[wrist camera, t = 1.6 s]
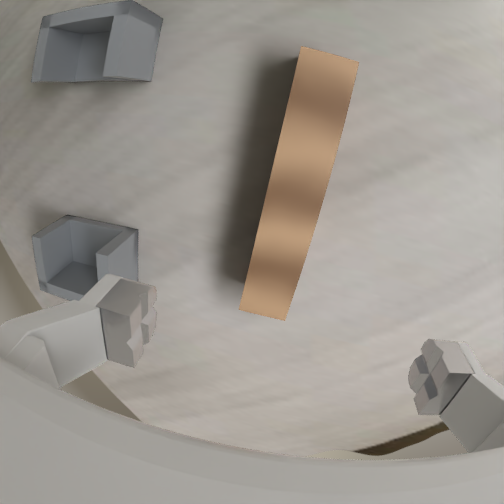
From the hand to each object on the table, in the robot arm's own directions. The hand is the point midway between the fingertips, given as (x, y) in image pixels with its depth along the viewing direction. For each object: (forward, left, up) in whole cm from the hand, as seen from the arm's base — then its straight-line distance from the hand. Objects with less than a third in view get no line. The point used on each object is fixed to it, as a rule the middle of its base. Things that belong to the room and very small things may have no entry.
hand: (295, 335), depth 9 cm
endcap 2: (+10, -18, -19) cm, 28 cm away
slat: (0, 0, -19) cm, 19 cm away
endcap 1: (-10, -18, -19) cm, 28 cm away
